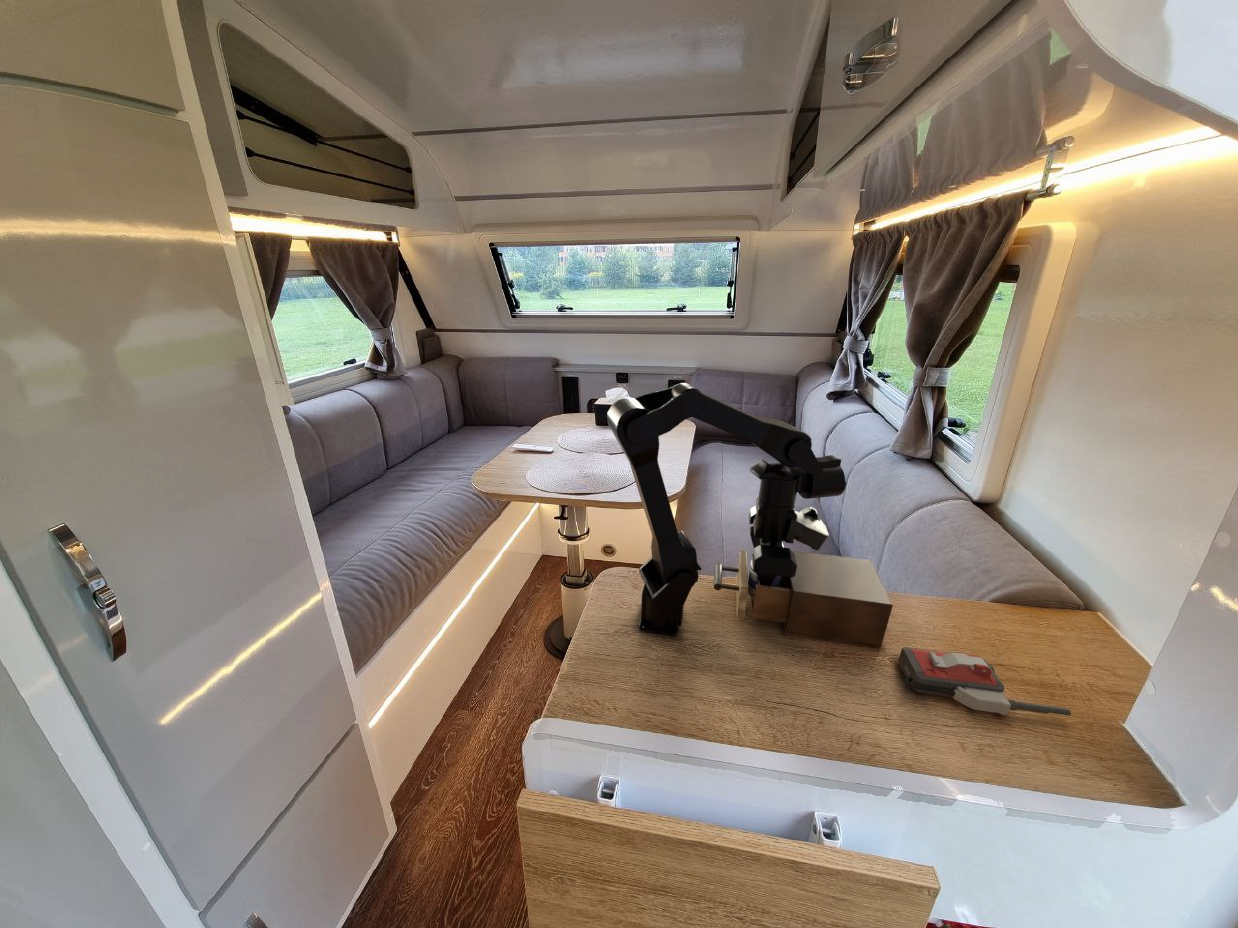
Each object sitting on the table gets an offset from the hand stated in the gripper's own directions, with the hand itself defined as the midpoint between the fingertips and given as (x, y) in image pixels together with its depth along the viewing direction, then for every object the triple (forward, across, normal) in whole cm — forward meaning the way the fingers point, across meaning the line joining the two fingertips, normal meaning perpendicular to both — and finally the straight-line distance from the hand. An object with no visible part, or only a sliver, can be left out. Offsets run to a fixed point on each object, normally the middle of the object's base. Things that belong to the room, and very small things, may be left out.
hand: (763, 579), depth 83 cm
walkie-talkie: (+6, -12, -29) cm, 32 cm away
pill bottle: (+3, 0, 0) cm, 3 cm away
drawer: (+5, 0, 0) cm, 5 cm away
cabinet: (+6, 0, -11) cm, 12 cm away
